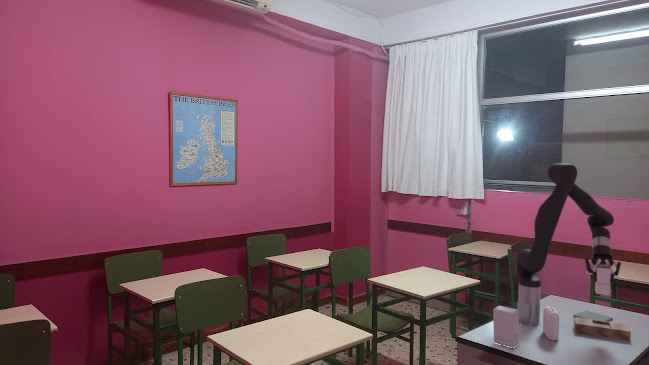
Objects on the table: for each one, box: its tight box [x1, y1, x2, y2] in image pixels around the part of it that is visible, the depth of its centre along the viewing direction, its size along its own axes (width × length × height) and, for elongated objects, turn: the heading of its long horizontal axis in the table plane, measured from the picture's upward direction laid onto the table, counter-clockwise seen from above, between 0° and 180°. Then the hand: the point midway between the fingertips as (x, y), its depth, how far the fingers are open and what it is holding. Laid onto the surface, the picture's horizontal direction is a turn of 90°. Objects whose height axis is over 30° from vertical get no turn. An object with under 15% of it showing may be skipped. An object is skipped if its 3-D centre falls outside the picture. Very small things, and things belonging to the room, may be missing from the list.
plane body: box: [573, 317, 632, 342], centre depth 195 cm, size 20×9×4 cm, turn 64°
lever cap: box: [594, 264, 612, 296], centre depth 194 cm, size 5×6×12 cm
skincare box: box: [492, 305, 520, 348], centre depth 182 cm, size 8×6×15 cm
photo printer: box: [542, 305, 560, 341], centre depth 191 cm, size 10×4×12 cm, turn 169°
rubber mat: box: [572, 310, 614, 322], centre depth 213 cm, size 12×12×1 cm
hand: (603, 281), depth 193 cm, fingers closed on lever cap, 5 cm apart
